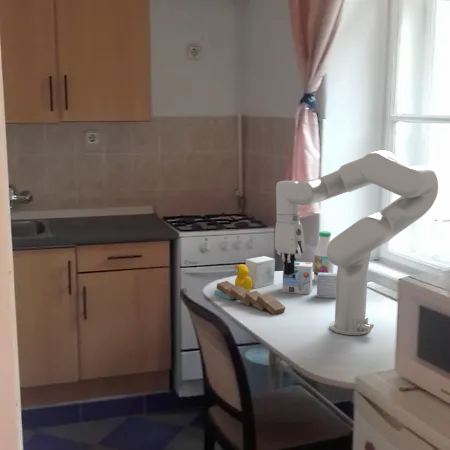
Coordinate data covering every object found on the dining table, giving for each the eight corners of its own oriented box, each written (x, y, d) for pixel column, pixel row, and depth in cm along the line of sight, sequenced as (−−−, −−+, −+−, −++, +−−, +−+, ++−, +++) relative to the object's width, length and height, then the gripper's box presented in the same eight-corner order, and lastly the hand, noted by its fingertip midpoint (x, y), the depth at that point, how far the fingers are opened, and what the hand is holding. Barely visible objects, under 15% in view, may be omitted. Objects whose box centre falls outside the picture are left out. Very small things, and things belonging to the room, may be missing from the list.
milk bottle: (322, 277, 284) (324, 229, 280) (336, 281, 278) (339, 232, 274) (309, 280, 279) (311, 231, 275) (323, 284, 273) (325, 234, 269)
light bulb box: (281, 292, 261) (282, 264, 259) (284, 287, 268) (285, 260, 266) (310, 294, 259) (311, 266, 257) (312, 289, 265) (313, 262, 263)
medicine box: (338, 295, 258) (339, 272, 256) (338, 298, 254) (339, 275, 252) (316, 294, 259) (317, 272, 257) (317, 298, 254) (317, 275, 253)
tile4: (244, 291, 251) (226, 280, 257) (234, 294, 248) (217, 283, 253) (243, 296, 252) (225, 285, 257) (233, 299, 248) (216, 288, 254)
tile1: (285, 307, 236) (268, 293, 242) (275, 310, 233) (258, 295, 238) (284, 312, 237) (266, 297, 243) (273, 314, 234) (256, 300, 239)
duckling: (229, 287, 266) (229, 262, 264) (241, 286, 269) (242, 261, 267) (242, 295, 256) (243, 269, 254) (255, 293, 258) (256, 267, 257)
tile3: (258, 297, 246) (239, 285, 250) (250, 301, 242) (231, 288, 247) (257, 302, 247) (238, 289, 251) (248, 306, 243) (229, 293, 247)
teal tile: (229, 301, 251) (214, 295, 258) (240, 298, 254) (225, 293, 261) (230, 295, 250) (214, 290, 257) (240, 293, 254) (225, 288, 260)
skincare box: (255, 288, 265) (256, 262, 263) (244, 285, 270) (244, 259, 268) (274, 284, 272) (275, 258, 270) (263, 281, 277) (263, 255, 275)
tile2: (273, 303, 240) (256, 290, 246) (263, 306, 237) (246, 293, 242) (272, 308, 241) (254, 295, 247) (261, 311, 238) (244, 298, 243)
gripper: (312, 219, 222) (313, 275, 225) (281, 215, 234) (282, 268, 237) (295, 222, 218) (296, 279, 221) (264, 217, 230) (265, 272, 232)
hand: (289, 273), depth 229 cm, fingers closed
